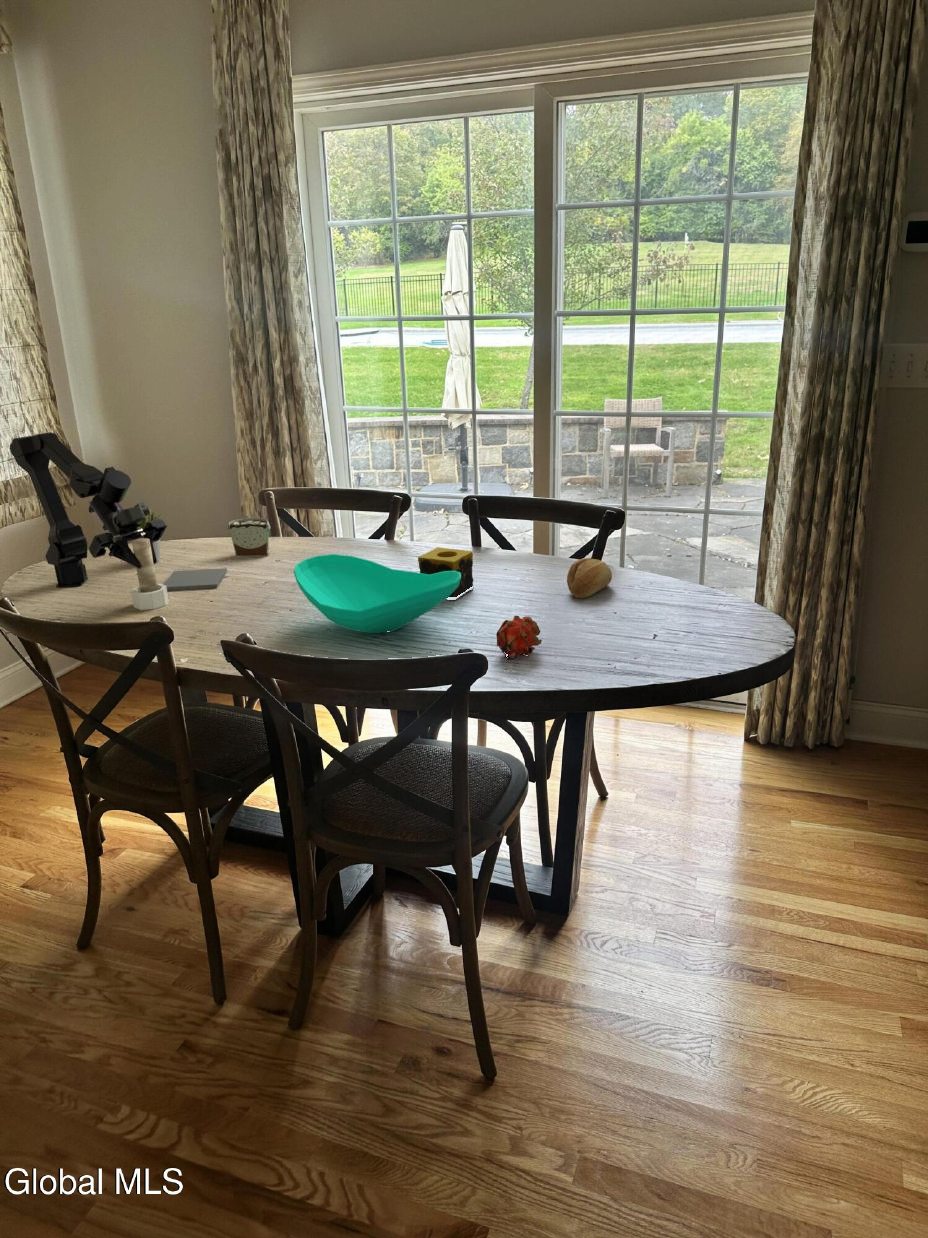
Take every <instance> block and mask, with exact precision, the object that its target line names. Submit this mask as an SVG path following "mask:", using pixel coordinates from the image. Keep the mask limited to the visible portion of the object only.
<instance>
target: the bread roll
mask: <svg viewBox="0 0 928 1238" xmlns="http://www.w3.org/2000/svg"><path fill="white" fill-rule="evenodd" d="M566 576H567V577H566V584H567V589H568V590H569V592H570V593H571V595H572V596H574V597H575V598H577V597H578V599H585V597H586V598H588V597H590V596H592V595H594V594H595V593H597V592H599V591H601V590H603V589H605V588H606V587H607V586H609V584H610V583H611V582H612V578H613V574H612V571H611V568H610V567H609V565H608V564H607V563H606V562H604V561H602V560H600V559H596V558H592V557H586V558H585V557H583V558H580V559H578V560H576V561H575V562H573V563H572V564H571V565H570V567H569V570H568V572H567V575H566Z"/></svg>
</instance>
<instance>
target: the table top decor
mask: <svg viewBox="0 0 928 1238" xmlns="http://www.w3.org/2000/svg"><path fill="white" fill-rule="evenodd" d="M293 574H294V577H295V582H296V583H297V585H298V587H299V590H300V591H301V592H302V593H303V595H304V596H305V598H306V599H307V601H308V602H310V603H311V604H312V605H313V606H314V607H315V608H316V609H317V610H318V611H319V612H320V613H321V614H322V615H323V616H324V617H326V619H328V620H329V621H330V622H332V623H334V624H335V625H337V626H339V627H341V628H345V629H348V630H351V631H356V632H361V633H367V634H381V633H380V632H387V631H392V632H394V630H395V631H397V630H400V629H401V628H403V627H404V626H406V625H407V624H410V623H411V622H413V621H414V620H417V619H418V618H420V617H422V616H423V615H425V614H426V613H429V612H430V611H432V609H434V608H436V607H437V606H439V605H440V604H442V603H443V602H445V601H446V600H445V599H446V598H448V597H449V596H450V595H451V594H452V593H453V592H454V590H455V589H456V588H457V587H458V586H459V583H460V580H461V573H460V572H457V571H444V572H439V573H434V574H430V575H428V574H423V573H420V572H417V571H415V572H414V571H410V570H403V569H402V570H401V569H393V568H390V567H388V566H385V565H383V564H380V563H378V562H374V561H372V560H368V559H365V558H361V557H357V556H353V555H344V554H338V553H337V554H336V553H335V554H334V553H329V554H321V555H316V556H311V557H308V558H305V559H303V560H302V561H299V562H298V563H297V564H296V565H295V566H294V570H293ZM387 633H388V632H387Z"/></svg>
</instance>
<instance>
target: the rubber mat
mask: <svg viewBox="0 0 928 1238" xmlns="http://www.w3.org/2000/svg"><path fill="white" fill-rule="evenodd" d="M226 572H227V573H228V568H227V567H223V568H222V567H221V568H206V569H190V570H189V569H188V570H187V569H186V570H174V571H173V572H171V575H169V577H168V578H167V580H165V582H164V583H162V584H163V585H166V587H167V592H168V591H170V592H171V591H186V590H188V591H189V590H191V591H192V590H203V589H205V590H206V589H207V590H208V589H218V588H217V587H219V586H220V585H221V583H222V581H223V580H224V578H225V576H226V575H227V573H226ZM225 574H226V575H225ZM223 577H224V578H223ZM222 579H223V580H222ZM220 582H221V583H220ZM219 584H220V585H219Z"/></svg>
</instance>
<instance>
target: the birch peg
mask: <svg viewBox="0 0 928 1238" xmlns="http://www.w3.org/2000/svg"><path fill="white" fill-rule="evenodd" d="M131 544H132V545H131V546H132V552H133V553H134V555H135V556H136V558H137V559H138V560H139V562H140V564H141V566H142V567H141V568H140V569H138V568H137V567H135V569H136V573H137V579H138V585H139V586H140V592H141V593H148V592H154V591H157V590H158V588H157V584H158V583H157V577H156V576H157V575H156V571H155V564H154V563H153V557H152V551H151V545H150V539H147V538H141V539H135V540H132V541H131Z"/></svg>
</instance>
